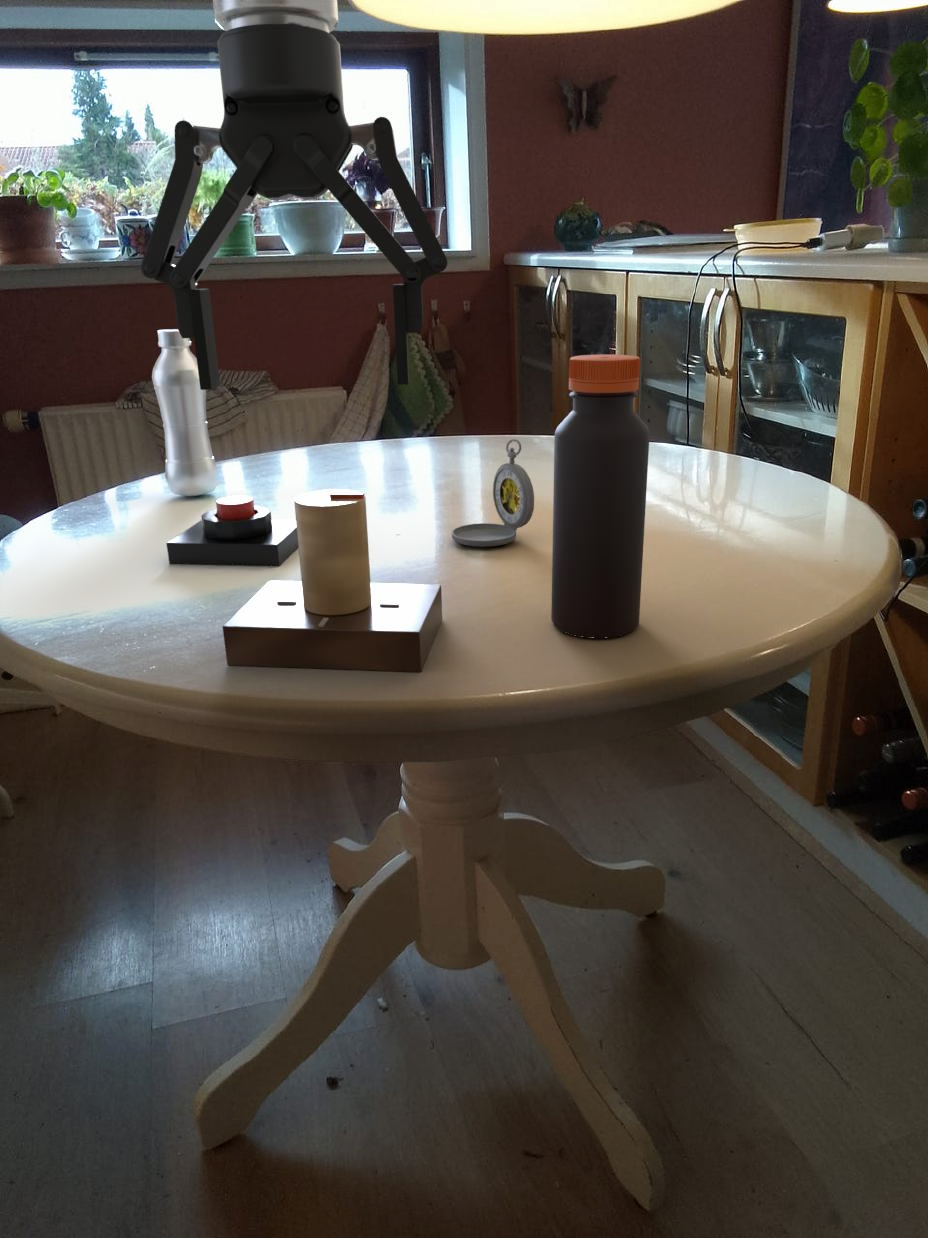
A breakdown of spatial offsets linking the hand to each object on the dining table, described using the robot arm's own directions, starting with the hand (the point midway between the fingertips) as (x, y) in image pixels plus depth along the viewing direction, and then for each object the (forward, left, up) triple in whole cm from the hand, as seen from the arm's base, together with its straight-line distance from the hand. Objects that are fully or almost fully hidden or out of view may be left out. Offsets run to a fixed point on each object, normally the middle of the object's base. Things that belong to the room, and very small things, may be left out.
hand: (307, 385), depth 63 cm
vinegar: (+21, +2, -19) cm, 28 cm away
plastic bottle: (-29, +43, -19) cm, 56 cm away
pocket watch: (+11, +25, -19) cm, 33 cm away
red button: (-14, +19, -15) cm, 28 cm away
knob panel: (+2, -3, -18) cm, 19 cm away
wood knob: (+2, -3, -15) cm, 16 cm away
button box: (-14, +19, -18) cm, 30 cm away
